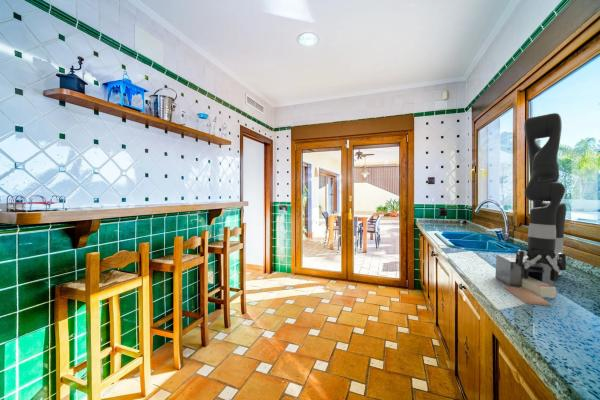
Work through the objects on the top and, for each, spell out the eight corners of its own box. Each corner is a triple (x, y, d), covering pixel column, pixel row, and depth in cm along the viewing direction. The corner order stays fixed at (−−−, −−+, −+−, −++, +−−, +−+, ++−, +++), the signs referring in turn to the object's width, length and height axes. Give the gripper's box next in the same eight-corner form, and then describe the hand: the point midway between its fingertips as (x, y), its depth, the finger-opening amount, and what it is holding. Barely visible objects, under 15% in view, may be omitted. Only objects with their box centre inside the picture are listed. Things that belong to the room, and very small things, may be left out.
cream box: (515, 285, 105) (516, 275, 105) (528, 286, 104) (529, 276, 104) (540, 298, 93) (541, 286, 93) (555, 298, 93) (556, 287, 92)
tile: (505, 288, 101) (505, 286, 101) (526, 290, 99) (526, 288, 99) (525, 303, 88) (525, 300, 88) (550, 305, 86) (550, 303, 86)
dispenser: (495, 276, 114) (496, 254, 114) (534, 280, 110) (535, 256, 110) (510, 287, 102) (511, 262, 101) (554, 291, 98) (555, 265, 98)
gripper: (558, 235, 97) (555, 278, 97) (513, 233, 100) (511, 274, 101) (573, 239, 89) (570, 285, 90) (524, 236, 93) (521, 280, 94)
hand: (538, 279), depth 96 cm, fingers open, 8 cm apart
